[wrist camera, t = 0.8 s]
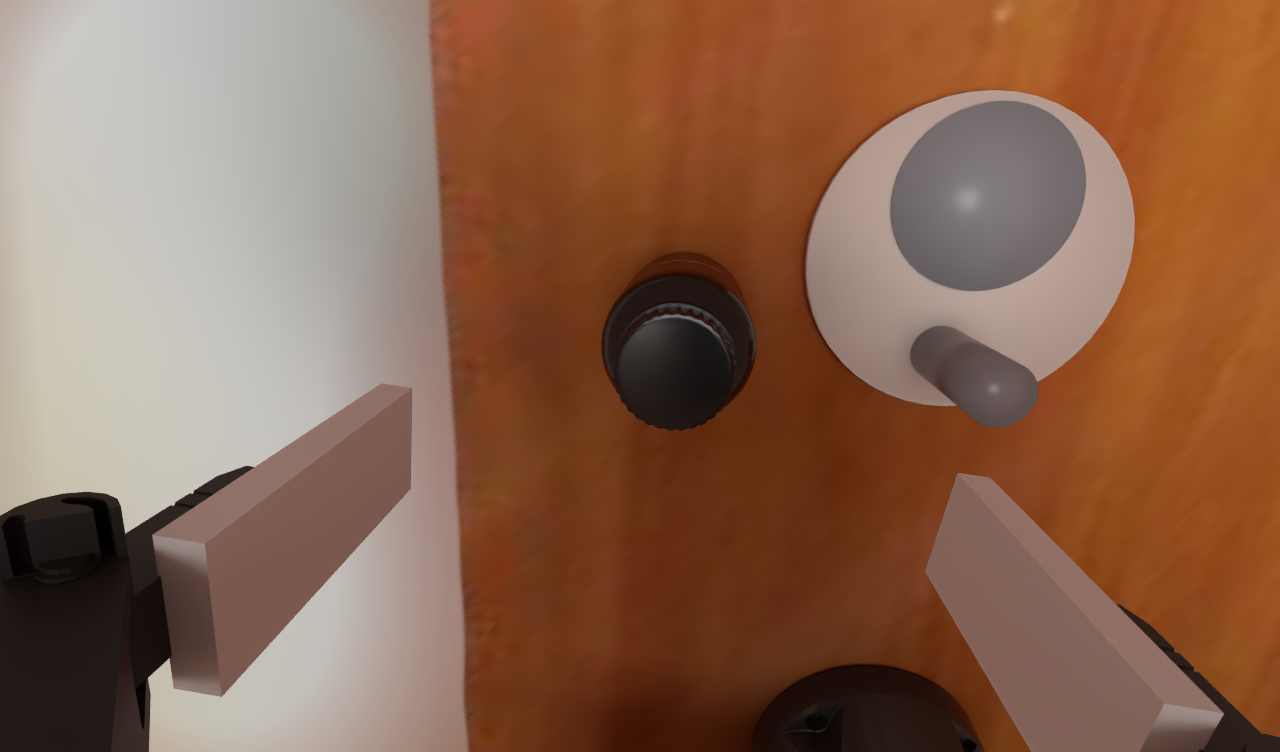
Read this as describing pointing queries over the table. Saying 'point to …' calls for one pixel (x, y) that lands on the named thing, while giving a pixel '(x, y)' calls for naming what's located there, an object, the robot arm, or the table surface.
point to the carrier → (970, 251)
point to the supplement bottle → (679, 341)
